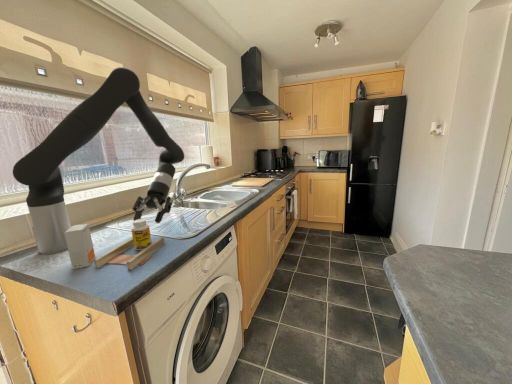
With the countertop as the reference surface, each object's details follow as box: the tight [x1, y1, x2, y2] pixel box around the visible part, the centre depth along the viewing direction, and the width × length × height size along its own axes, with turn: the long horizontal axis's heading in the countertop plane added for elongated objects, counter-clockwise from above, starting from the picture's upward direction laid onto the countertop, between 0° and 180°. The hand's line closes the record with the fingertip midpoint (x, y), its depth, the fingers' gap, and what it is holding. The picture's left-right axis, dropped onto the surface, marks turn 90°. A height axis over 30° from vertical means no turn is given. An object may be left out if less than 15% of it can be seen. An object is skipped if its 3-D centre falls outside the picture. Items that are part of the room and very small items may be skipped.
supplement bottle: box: [131, 218, 153, 251], centre depth 74 cm, size 6×6×10 cm
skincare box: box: [64, 223, 96, 270], centre depth 64 cm, size 6×4×12 cm
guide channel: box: [93, 236, 165, 271], centre depth 70 cm, size 15×17×2 cm
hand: (146, 222), depth 76 cm, fingers open, 8 cm apart
